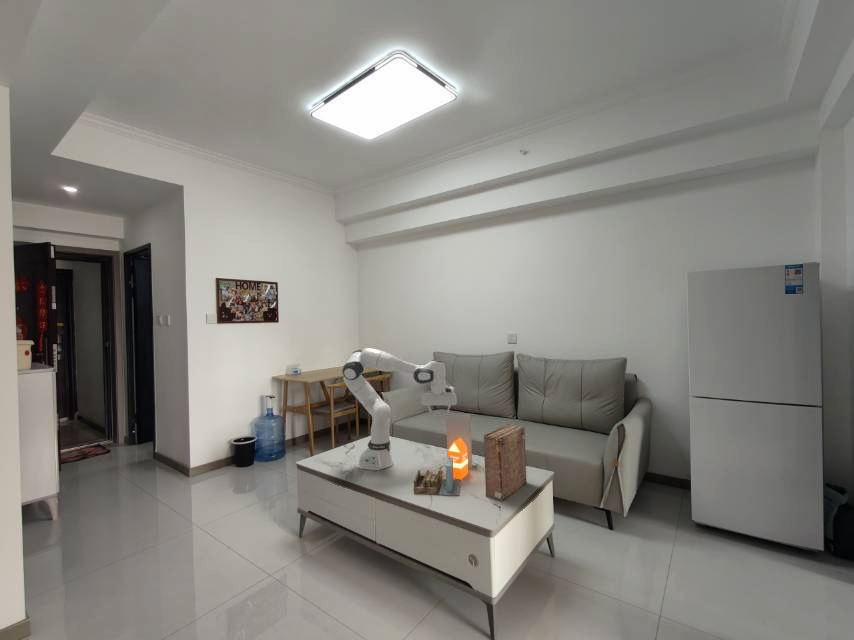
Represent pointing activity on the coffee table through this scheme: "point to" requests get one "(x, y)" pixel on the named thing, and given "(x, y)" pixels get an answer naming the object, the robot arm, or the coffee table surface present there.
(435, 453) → the coffee table surface
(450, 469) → the light blue slab
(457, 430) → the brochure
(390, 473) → the coffee table surface
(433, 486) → the offcut
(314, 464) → the coffee table surface
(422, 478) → the rack
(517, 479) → the book
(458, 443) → the orange juice
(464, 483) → the coffee table surface
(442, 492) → the mat
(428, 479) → the offcut
